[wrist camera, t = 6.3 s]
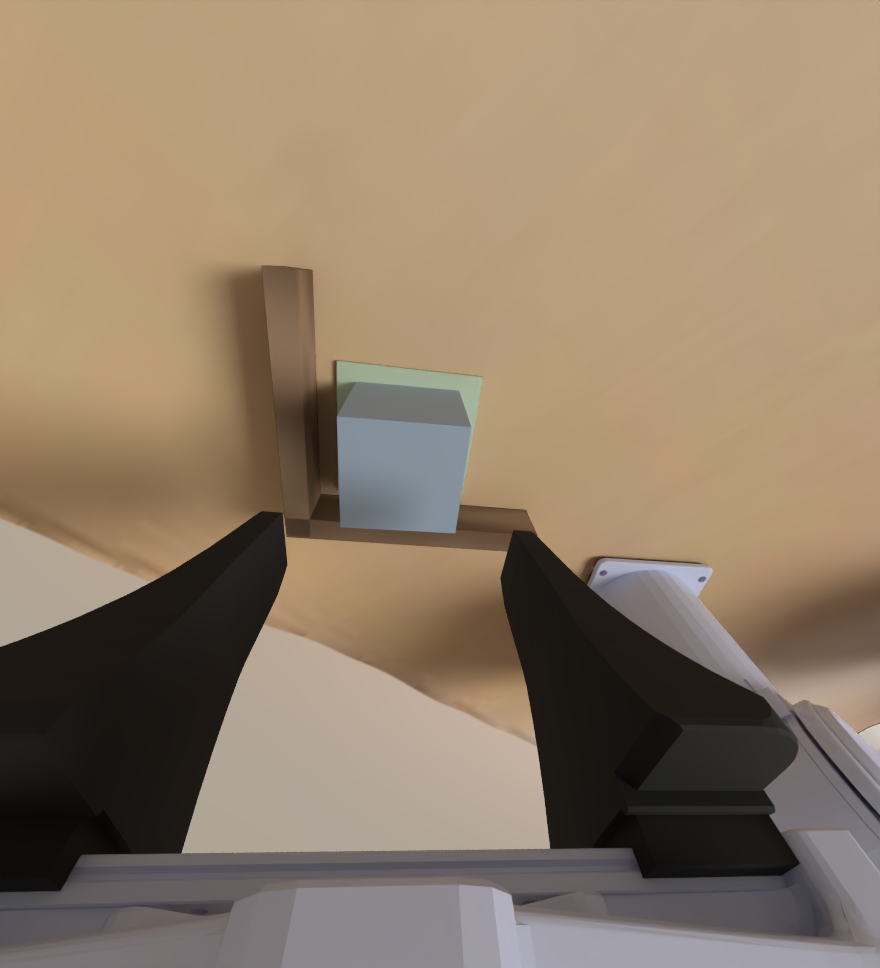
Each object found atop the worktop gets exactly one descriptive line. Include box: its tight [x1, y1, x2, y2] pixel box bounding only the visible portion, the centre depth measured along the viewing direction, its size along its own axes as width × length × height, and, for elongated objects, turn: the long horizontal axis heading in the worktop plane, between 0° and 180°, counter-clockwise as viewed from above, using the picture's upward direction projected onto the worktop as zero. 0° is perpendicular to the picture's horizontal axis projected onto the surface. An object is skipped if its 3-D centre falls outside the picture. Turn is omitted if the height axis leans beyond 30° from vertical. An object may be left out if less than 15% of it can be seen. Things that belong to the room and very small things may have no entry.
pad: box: [337, 360, 483, 499], centre depth 20 cm, size 7×7×1 cm
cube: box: [337, 381, 471, 533], centre depth 17 cm, size 5×5×5 cm
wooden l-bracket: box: [262, 266, 537, 551], centre depth 18 cm, size 12×13×2 cm
